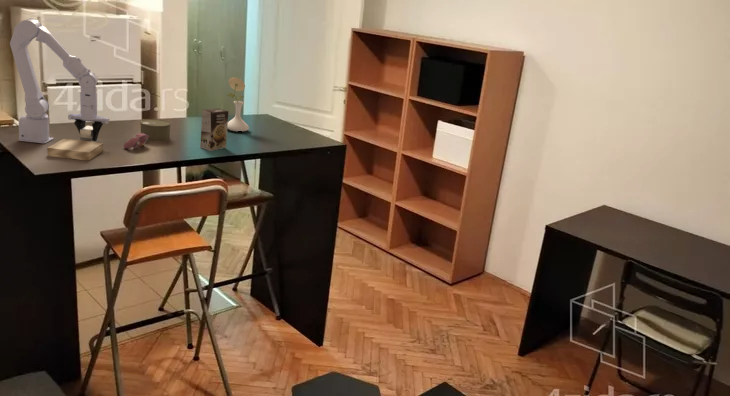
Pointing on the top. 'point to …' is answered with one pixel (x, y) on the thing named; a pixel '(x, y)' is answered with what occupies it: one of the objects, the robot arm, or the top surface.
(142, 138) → the pink toy
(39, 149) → the top surface
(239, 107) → the flower in vase
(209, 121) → the coffee box
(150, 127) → the can
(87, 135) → the two-plate housing
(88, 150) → the birch stand
